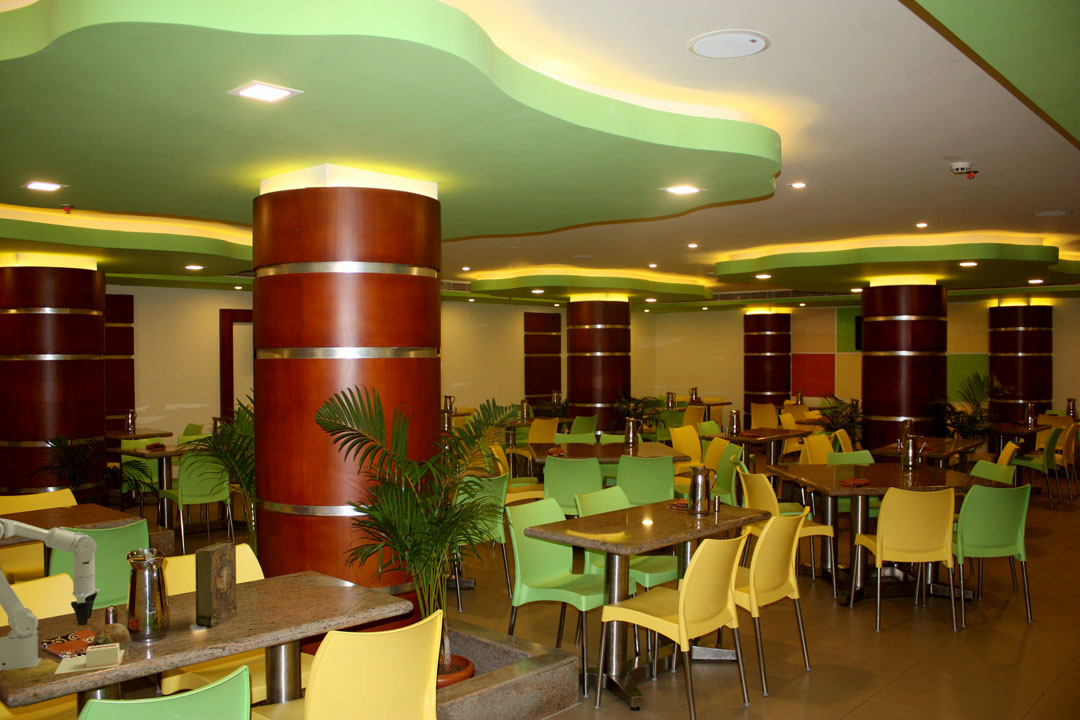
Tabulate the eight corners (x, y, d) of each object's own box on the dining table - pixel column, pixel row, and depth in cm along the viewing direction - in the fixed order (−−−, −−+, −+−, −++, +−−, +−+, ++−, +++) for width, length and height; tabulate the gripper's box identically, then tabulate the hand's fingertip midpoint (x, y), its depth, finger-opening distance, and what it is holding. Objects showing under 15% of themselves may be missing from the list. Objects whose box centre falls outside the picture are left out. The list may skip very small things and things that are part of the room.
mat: (54, 676, 235) (54, 673, 235) (64, 658, 250) (64, 656, 250) (120, 667, 240) (120, 665, 240) (125, 651, 255) (125, 649, 255)
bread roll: (129, 656, 263) (140, 630, 265) (97, 649, 256) (109, 622, 258) (116, 650, 269) (127, 624, 272) (84, 643, 262) (96, 617, 265)
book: (224, 613, 295) (223, 541, 296) (238, 614, 294) (237, 541, 295) (196, 627, 279) (195, 550, 280) (211, 628, 278) (210, 551, 279)
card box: (117, 663, 242) (117, 647, 242) (86, 667, 239) (86, 650, 239) (119, 658, 246) (119, 642, 247) (88, 662, 244) (88, 646, 244)
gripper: (95, 579, 249) (96, 626, 249) (102, 569, 263) (102, 614, 263) (68, 582, 247) (68, 629, 246) (76, 572, 260) (76, 616, 260)
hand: (84, 621), depth 254 cm, fingers open, 7 cm apart
